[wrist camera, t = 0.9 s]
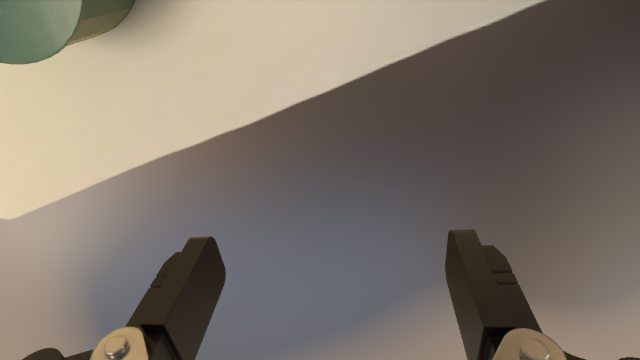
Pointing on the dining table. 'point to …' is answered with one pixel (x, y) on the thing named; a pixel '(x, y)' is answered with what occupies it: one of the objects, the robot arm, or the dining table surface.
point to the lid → (37, 28)
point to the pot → (101, 17)
